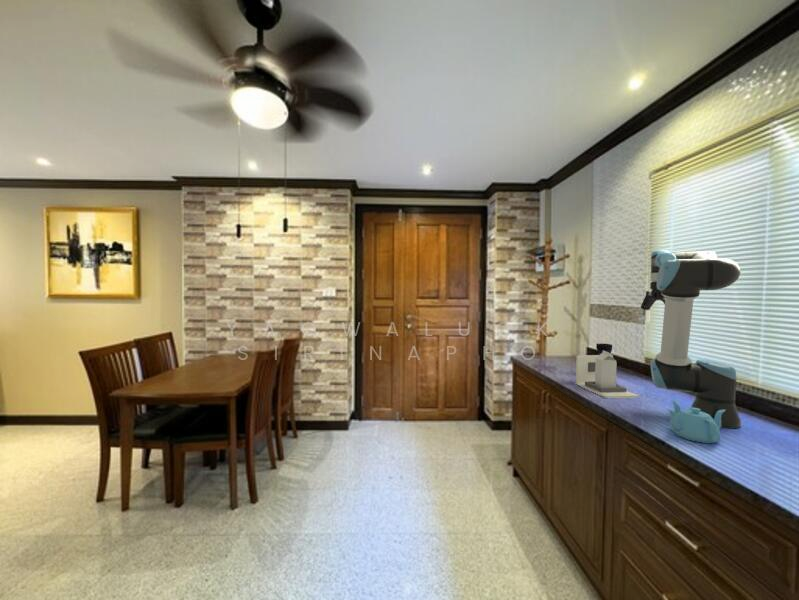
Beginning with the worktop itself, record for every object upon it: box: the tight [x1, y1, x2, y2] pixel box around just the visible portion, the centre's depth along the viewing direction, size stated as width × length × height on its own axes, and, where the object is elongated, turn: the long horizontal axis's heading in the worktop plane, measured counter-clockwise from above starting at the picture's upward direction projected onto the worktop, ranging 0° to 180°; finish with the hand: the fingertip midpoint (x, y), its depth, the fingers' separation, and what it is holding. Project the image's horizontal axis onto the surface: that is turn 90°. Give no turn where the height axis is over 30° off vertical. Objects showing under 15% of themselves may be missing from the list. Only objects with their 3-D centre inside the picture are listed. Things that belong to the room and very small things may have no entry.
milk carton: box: [595, 351, 617, 388], centre depth 177 cm, size 7×7×19 cm
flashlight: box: [595, 342, 613, 355], centre depth 203 cm, size 8×8×20 cm
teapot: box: [666, 400, 726, 444], centre depth 122 cm, size 15×15×10 cm
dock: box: [575, 354, 639, 399], centre depth 177 cm, size 24×16×16 cm, turn 6°
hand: (658, 323), depth 175 cm, fingers open, 13 cm apart
